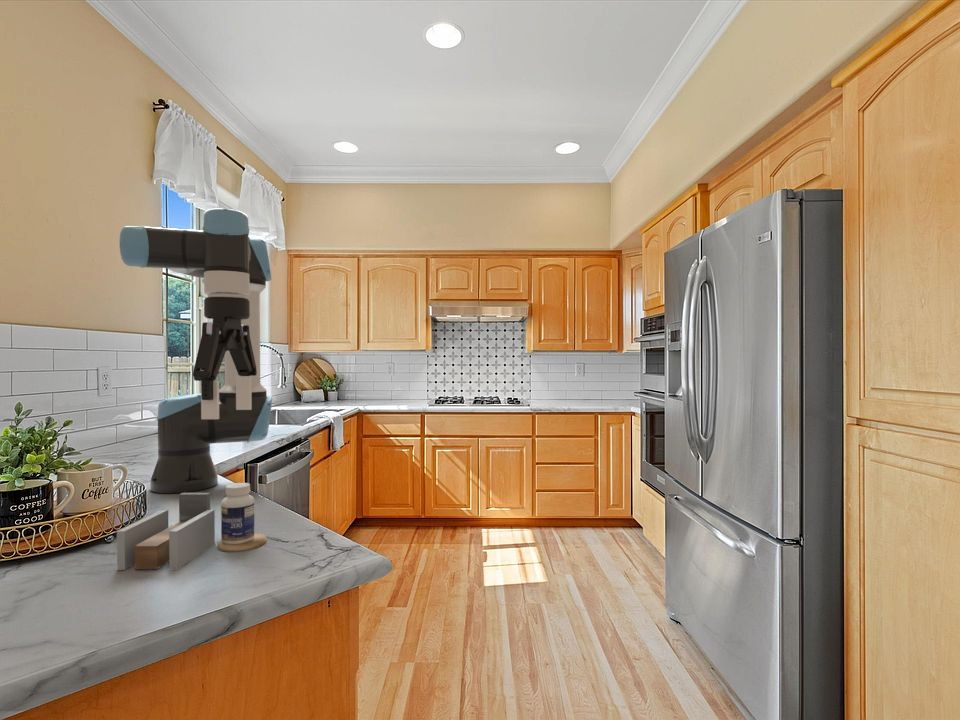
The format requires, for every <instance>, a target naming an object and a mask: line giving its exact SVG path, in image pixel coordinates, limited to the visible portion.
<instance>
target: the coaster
mask: <svg viewBox="0 0 960 720" xmlns="http://www.w3.org/2000/svg"><path fill="white" fill-rule="evenodd" d="M266 542H267V536H266V535H265V534H263V533H257V532H256V533H255V532H254V538H253V539H252V540H251V541H248V542H246V543H242V544H225V543H223V542H222V538H221V539H219V540H218V541H217V542H216V548H217V550H218V551H222V552H230V553H231V552H232V553H233V552H234V553H235V552H236V553H237V552H243V551H244V552H245V551H250V550H254V549H257V548H260V547H262V546H264V545H265V544H266Z"/></svg>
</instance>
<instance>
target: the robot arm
mask: <svg viewBox="0 0 960 720" xmlns="http://www.w3.org/2000/svg"><path fill="white" fill-rule="evenodd" d="M249 224H250V223H249V217H248V214H246V213H244V211H241V210H237V209H230V208H219V207H217V208H210V209H207V210H206V211H204V213H203V223H202V230H201V229H200V230H199V229H186V228H184V229H182V228H181V229H179V228H167V227H156V226H155V227H153V226H144V225H139V226H138V225H137V226H135V225H125V226H123V228H121V231H120V233H119V254H120V257H121V260H122V262H123V264H124V265H125V266H129V267H137V268H138V267H139V268H143V269H144V268H148V269H149V268H150V269H151V268H152V269H158V268H159V269H168V270H170V271H171V272H173V273H176V274H182V275H186V276H190V277H195V278H196V277H197V278H202V279H201V280H202V283H203V290H204V291H203V293H204V294H205V295H207V297H205V298H204V299H203V316H204V318H206V319H209V320H210V319H211V320H212V321H211V322H209V321H208V322H207V321H206V322H203V323H202V325H201V326H202V327H201V338H200V342H199V345H198V349H197V354H196V358H195V363H194V367H193V372H192V376H193V377H192V378H193V379H194V381H196V382H197V381H198V382H200V393H194V394H192V393H191V394H186V395H185V394H184V395H179V396H174V397H169V398H165V399H162V400H161V401H160V402H159V403H158V406H157V417H156V420H157V453H158V454H157V460H156V464H155V466H154V470H153V473H152V474H151V478H150V486H149V490H150V491H151V492H154V493H159V494H179V493H180V494H181V493H191V492H195V491H196V492H197V491H201V490H206V489H208V488H212V487H215V486H217V485H218V483H219V482H218V479H219V478H218V472H217V470H216V467H215V464H214V462H213V459H212V456H211V444H226V443H231V444H232V443H242V442H243V443H250V442H257V441H263V440H266V438H267V436H268V433H269V427H270V419H271V413H272V411H271V410H272V404H273V397H272V396H270V395H267V392H268V391H267V389H266V388H265V387H264V386H263V385H262V383H261V319H260V318H261V315H260V314H261V305H260V303H261V301H260V300H261V299H260V298H261V297H260V294H261V293H262V292H263V291H264V290H265V289H266V286H267V285H266V284H267V283H266V282H270V281H272V272H271V265H270V259H269V257H270V256H269V251H268V246H267V241H266V240H265V238H263V237H261V236H258V235H257V236H256V235H250V226H249ZM223 361H224V385H223V386H222V387H221V388H220V381H219V380H217V376H218V374H219V372H220V368H221V366H222V363H223Z"/></svg>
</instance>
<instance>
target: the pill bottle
mask: <svg viewBox="0 0 960 720" xmlns="http://www.w3.org/2000/svg"><path fill="white" fill-rule="evenodd" d="M224 491H225V495H226V497H224V498H223V499H222V500H221V504H220V506H221V507H220V509H221V510H220V511H221V513H220V515H221V517H220V518H221V521H220V522H221V523H220V524H221V527H220V528H221V531H220V532H221V535H220V537H221V539H222V542H223V543H225V544H242V543H246V542H248V541H251V540H252V539H253V538H254V533H255V531H256V530H255V498H254V496H253V495H250V493H251V483H249V482H235V483H234V482H233V483H229V484H227V485H226V486H225V490H224Z"/></svg>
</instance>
